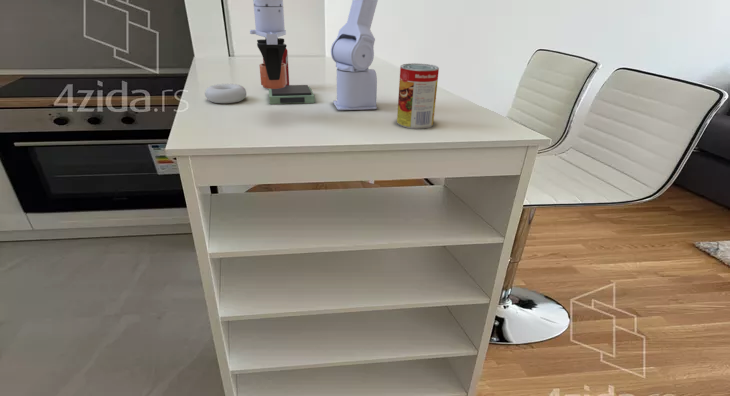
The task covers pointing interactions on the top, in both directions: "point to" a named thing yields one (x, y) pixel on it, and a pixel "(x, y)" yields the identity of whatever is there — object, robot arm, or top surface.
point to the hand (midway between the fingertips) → (273, 76)
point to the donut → (225, 93)
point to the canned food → (417, 95)
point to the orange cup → (273, 83)
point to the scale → (291, 95)
